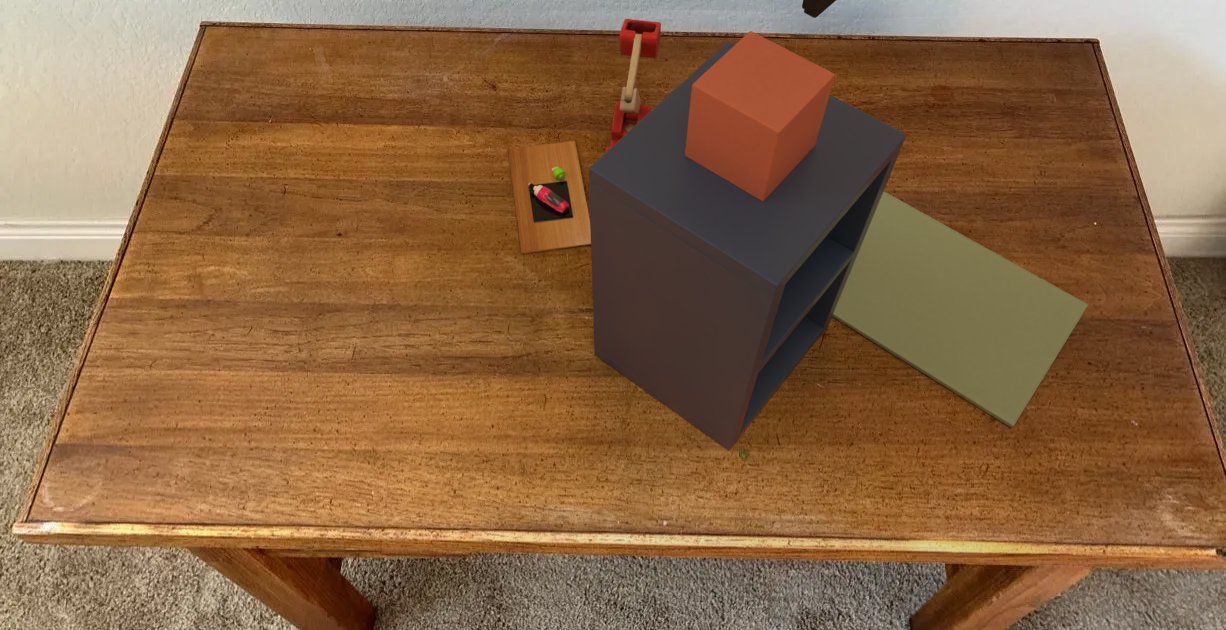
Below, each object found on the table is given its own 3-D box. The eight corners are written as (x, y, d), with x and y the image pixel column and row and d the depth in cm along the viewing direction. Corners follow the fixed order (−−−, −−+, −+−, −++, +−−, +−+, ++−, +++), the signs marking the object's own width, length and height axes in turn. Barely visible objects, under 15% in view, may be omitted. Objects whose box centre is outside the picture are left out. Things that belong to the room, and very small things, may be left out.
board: (575, 142, 80) (574, 131, 79) (594, 244, 74) (594, 234, 73) (508, 150, 80) (506, 138, 79) (521, 254, 74) (520, 243, 72)
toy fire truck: (599, 202, 77) (598, 124, 68) (623, 94, 84) (624, 11, 76) (637, 207, 76) (640, 129, 68) (657, 97, 84) (662, 15, 75)
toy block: (815, 145, 51) (835, 74, 46) (762, 202, 48) (779, 132, 44) (738, 103, 53) (750, 30, 48) (684, 155, 50) (691, 84, 46)
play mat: (1086, 307, 71) (1088, 304, 71) (1011, 428, 65) (1013, 426, 65) (873, 188, 78) (874, 185, 77) (788, 289, 72) (788, 286, 71)
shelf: (828, 326, 70) (907, 134, 51) (728, 451, 64) (777, 285, 45) (698, 244, 74) (727, 40, 56) (594, 354, 68) (588, 167, 50)
